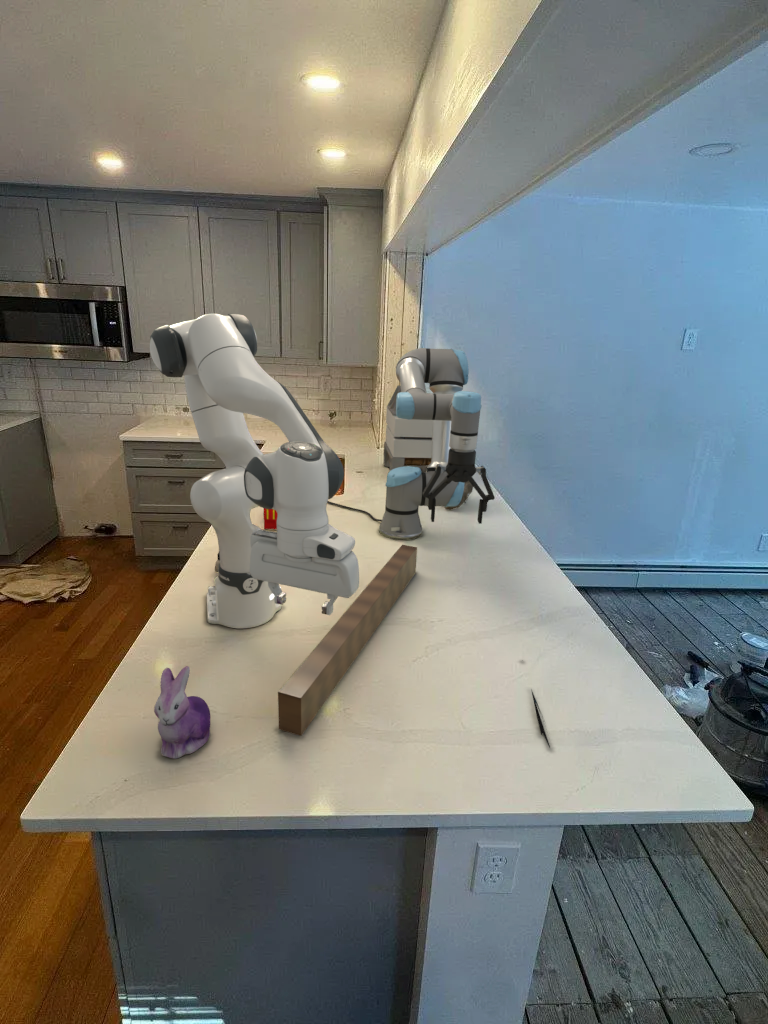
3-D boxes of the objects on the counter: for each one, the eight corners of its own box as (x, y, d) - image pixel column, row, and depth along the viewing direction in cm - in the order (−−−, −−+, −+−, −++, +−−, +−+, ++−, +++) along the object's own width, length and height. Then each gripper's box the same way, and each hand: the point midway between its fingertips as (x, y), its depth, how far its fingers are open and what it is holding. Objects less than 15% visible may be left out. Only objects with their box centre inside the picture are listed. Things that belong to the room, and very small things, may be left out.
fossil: (437, 484, 244) (466, 465, 239) (450, 500, 247) (479, 482, 242) (436, 505, 224) (468, 485, 219) (450, 523, 227) (482, 504, 222)
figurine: (162, 769, 95) (153, 695, 90) (154, 730, 104) (146, 661, 99) (219, 752, 99) (214, 680, 94) (207, 716, 108) (202, 648, 103)
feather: (522, 665, 130) (528, 659, 129) (549, 752, 103) (556, 745, 103) (516, 662, 130) (522, 655, 129) (542, 747, 103) (549, 740, 103)
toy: (303, 479, 223) (293, 493, 194) (302, 513, 226) (293, 531, 196) (272, 479, 223) (257, 492, 193) (272, 512, 225) (258, 530, 196)
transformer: (382, 463, 289) (386, 382, 275) (445, 464, 293) (451, 384, 279) (390, 482, 257) (394, 392, 243) (460, 483, 261) (468, 394, 247)
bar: (400, 570, 172) (402, 544, 170) (415, 572, 171) (417, 547, 168) (278, 729, 106) (277, 691, 103) (301, 736, 104) (301, 698, 101)
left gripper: (240, 533, 98) (244, 604, 103) (349, 553, 92) (348, 628, 97) (259, 522, 104) (262, 589, 108) (363, 540, 98) (361, 611, 102)
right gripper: (418, 450, 152) (413, 524, 159) (510, 454, 153) (501, 527, 160) (416, 444, 159) (412, 515, 166) (504, 447, 160) (496, 518, 167)
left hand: (303, 607), depth 102 cm, fingers open, 8 cm apart
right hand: (455, 521), depth 163 cm, fingers open, 13 cm apart
